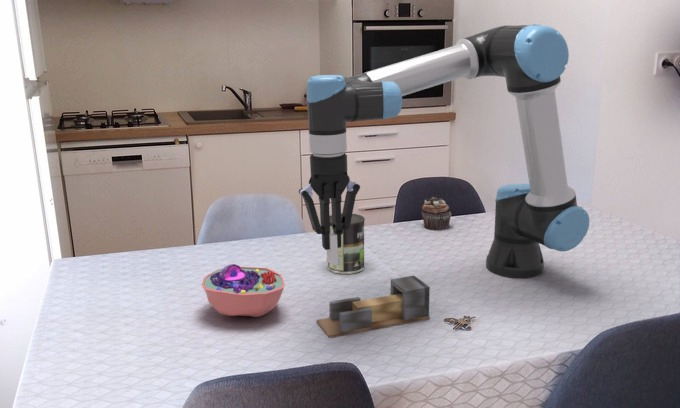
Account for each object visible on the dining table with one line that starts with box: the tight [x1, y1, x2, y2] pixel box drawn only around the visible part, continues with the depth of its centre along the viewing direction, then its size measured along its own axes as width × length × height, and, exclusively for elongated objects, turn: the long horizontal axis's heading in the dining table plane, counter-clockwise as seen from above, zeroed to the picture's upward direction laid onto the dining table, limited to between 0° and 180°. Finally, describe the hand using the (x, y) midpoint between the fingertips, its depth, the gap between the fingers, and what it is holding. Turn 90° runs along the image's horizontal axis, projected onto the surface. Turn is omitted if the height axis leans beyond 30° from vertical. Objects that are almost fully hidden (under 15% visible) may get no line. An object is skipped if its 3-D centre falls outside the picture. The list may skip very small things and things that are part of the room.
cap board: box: [316, 275, 430, 339], centre depth 142 cm, size 24×8×8 cm, turn 111°
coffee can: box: [326, 213, 366, 275], centre depth 173 cm, size 10×10×14 cm
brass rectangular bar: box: [352, 293, 403, 322], centre depth 143 cm, size 14×4×4 cm, turn 111°
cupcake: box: [421, 195, 452, 231], centre depth 208 cm, size 10×10×10 cm
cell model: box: [201, 263, 286, 318], centre depth 146 cm, size 17×20×11 cm
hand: (332, 262), depth 135 cm, fingers closed
